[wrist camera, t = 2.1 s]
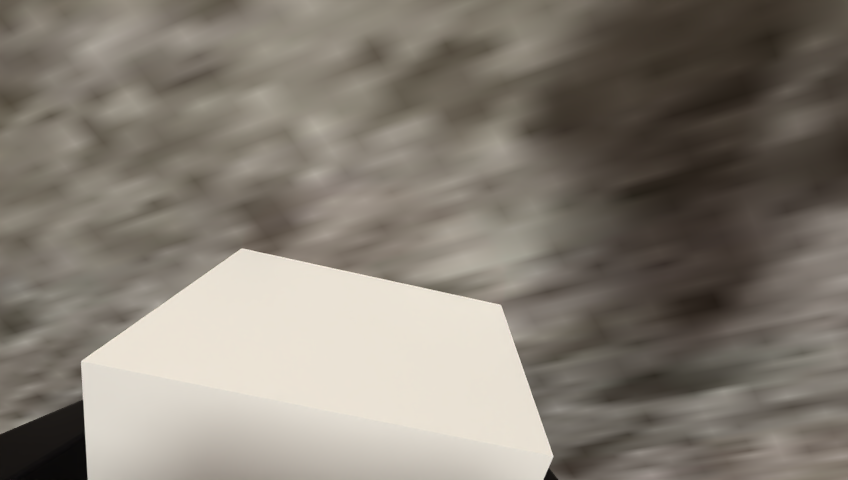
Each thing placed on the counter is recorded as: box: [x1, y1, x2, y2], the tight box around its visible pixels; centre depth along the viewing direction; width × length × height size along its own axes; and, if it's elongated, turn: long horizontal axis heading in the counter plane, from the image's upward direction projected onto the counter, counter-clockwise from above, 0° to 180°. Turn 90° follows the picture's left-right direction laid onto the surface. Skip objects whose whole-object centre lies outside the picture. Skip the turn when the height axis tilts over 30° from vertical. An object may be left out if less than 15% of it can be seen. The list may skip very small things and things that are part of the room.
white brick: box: [81, 248, 553, 480], centre depth 7 cm, size 6×6×4 cm
